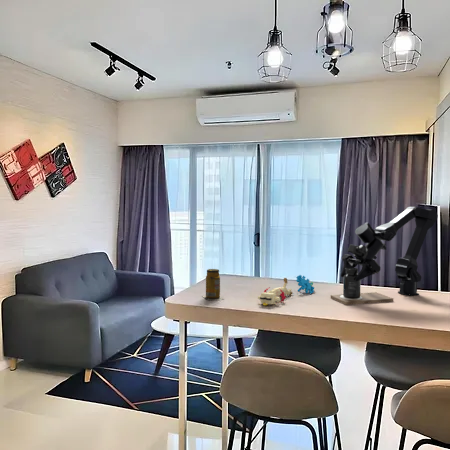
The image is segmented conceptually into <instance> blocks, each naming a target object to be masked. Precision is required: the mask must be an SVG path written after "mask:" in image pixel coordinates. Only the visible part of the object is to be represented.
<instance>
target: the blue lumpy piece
mask: <svg viewBox="0 0 450 450" xmlns="http://www.w3.org/2000/svg"><path fill="white" fill-rule="evenodd" d="M296 282H297V286H299V288H298V289H297V293H298V292H301V291H304V292H305V293H306V294H308V293H309V294H310V295H311V294H313V293H314V292H315V290H314V289H315V287H314V286H313V285H314V282H313V281H311V282H310V278H307V279H306V276H305V275H303V276H302V275H301V274H299V275H297V276H296Z"/></svg>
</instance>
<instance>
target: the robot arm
mask: <svg viewBox="0 0 450 450" xmlns="http://www.w3.org/2000/svg"><path fill="white" fill-rule="evenodd" d="M412 219H414V222H415V229H414V232H413V234H412V237H411V239H410V241H409V243H408V247H407V250H406V253H404V254H405V255H404V256H403V257H398V258H397V261H396V264H395V265H394V266H395V267H394V269H395V270H394V271H395V273H396V276H397V279H399V280H400V283H399V290H398V291H397V293H399V294H401V295H403V296H407V297H408V296H418V295H420V293H418V283H420V282H421V280H422V275H421V274H420V273H419V272H418V267H419V266H418V261H417V259H418V257H419V254H420V252H421V250H422V246H423V243H424V241H425V238H426V236H427V234H428V232H429V230H430V229H432V227H433V226H434V225H435V224H436V222H437V219H438V213H437V211H436V209H429V208H427V209H425V208H421V207H418V206H408V207H406V209H404V211H402V212H401V213H399V214H398V215H397V216H396V217H394V218H393V219H391V220H390V221H388V222H387V223H384V224H381V225H378V226H377V227H375V229H374V228H373V227H372V226H371V224H370V223H369V222H364V223H363V224H361V225H359V226H358V227H357V228H356V229H355V231H354V233H355V234H356V236H357V237H358V238H359V240H360V241H361V242H362V243H363V244H360V245H357V244H351V243H350V244H349V246H348V249H347V252H348V253H351V254H348V253H346V254H343V255H342V256H341V260H342V262H343V267H342V270H341V273H340V277H341V278H343V277H344V275H345V274H346V268H357V265H358V266H361V269H360V271H358V275H357V277H356V279H355V280H356V281H359V280H364V278H365V279H366V278H368V277H370V276H373V275H376V274H379V273H380V271H381V269H382V268H381V266H380V264H379V263H378V262H377V261H376V259H377V255H378V254H379V252H380V251H381V250H383V251H387V244H386V243H385V242H391V241H392V240H393V239H394V238H395V237H396V236H397V233H398V231H399V230H400V229H401V228H403V227H404V226H405V225H406V224H408V223H410V221H412ZM383 241H384V242H383ZM364 244H365V245H364Z"/></svg>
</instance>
